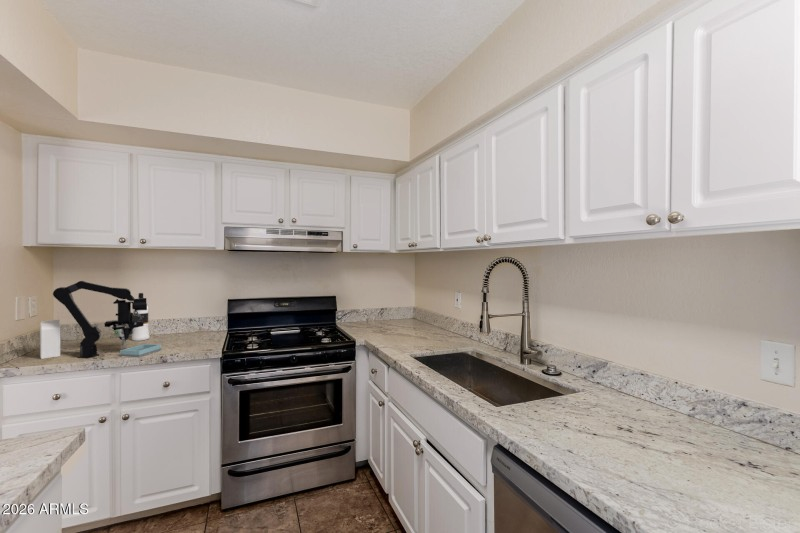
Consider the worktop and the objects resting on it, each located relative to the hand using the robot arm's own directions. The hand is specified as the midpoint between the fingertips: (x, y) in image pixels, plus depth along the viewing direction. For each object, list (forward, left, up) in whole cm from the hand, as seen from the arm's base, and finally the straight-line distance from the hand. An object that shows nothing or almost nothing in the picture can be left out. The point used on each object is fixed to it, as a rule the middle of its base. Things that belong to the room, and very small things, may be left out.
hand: (124, 339), depth 197 cm
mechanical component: (0, 0, -4) cm, 4 cm away
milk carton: (-30, -13, -7) cm, 34 cm away
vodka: (-18, +31, -7) cm, 37 cm away
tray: (+10, 0, -7) cm, 13 cm away
